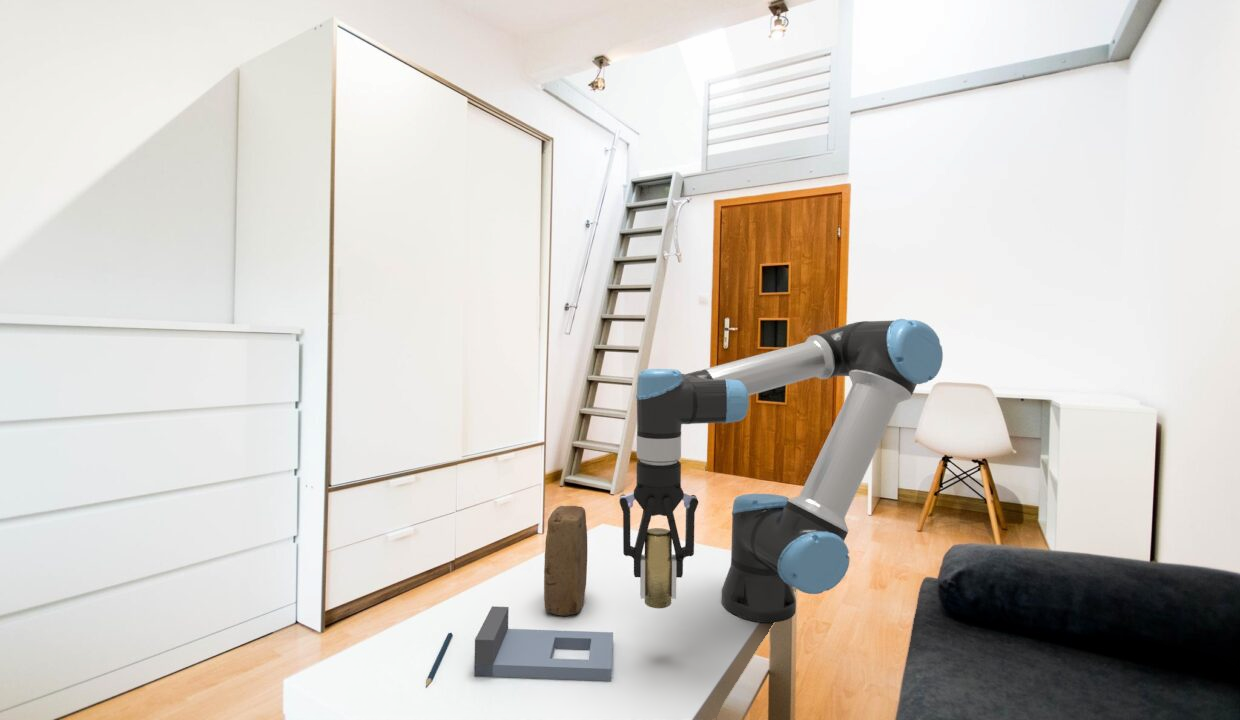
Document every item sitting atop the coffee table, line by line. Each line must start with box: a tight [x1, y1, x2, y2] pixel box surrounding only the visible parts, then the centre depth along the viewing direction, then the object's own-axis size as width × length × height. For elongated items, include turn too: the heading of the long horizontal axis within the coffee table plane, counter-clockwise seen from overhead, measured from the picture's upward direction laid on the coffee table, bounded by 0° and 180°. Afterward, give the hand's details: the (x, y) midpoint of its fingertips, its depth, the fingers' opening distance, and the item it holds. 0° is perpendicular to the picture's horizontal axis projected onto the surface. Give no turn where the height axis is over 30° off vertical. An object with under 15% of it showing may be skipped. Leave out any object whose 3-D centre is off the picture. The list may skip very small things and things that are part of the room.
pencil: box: [425, 632, 453, 688], centre depth 92 cm, size 1×1×15 cm
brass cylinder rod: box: [644, 527, 673, 609], centre depth 93 cm, size 5×5×12 cm
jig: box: [473, 606, 614, 682], centre depth 93 cm, size 22×11×6 cm, turn 89°
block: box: [543, 505, 588, 617], centre depth 112 cm, size 11×8×20 cm
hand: (658, 594), depth 93 cm, fingers closed on brass cylinder rod, 4 cm apart
